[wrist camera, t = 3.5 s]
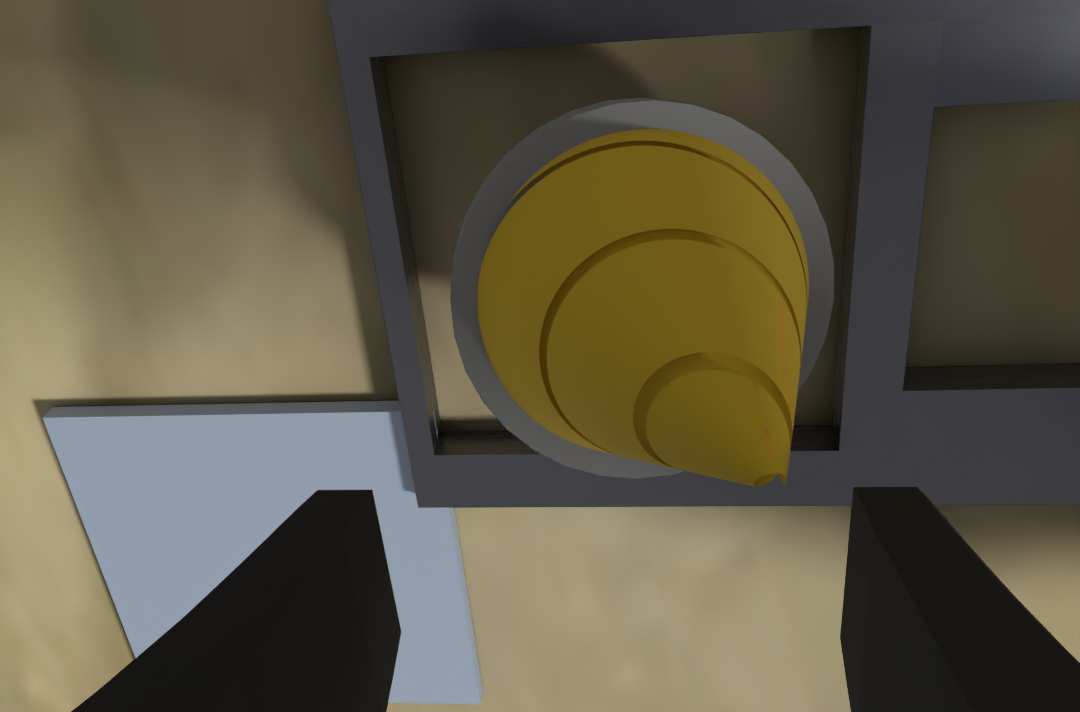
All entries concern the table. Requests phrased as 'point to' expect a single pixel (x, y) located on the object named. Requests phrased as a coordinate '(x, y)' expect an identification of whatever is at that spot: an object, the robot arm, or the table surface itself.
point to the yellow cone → (645, 292)
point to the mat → (261, 515)
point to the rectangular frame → (869, 263)
